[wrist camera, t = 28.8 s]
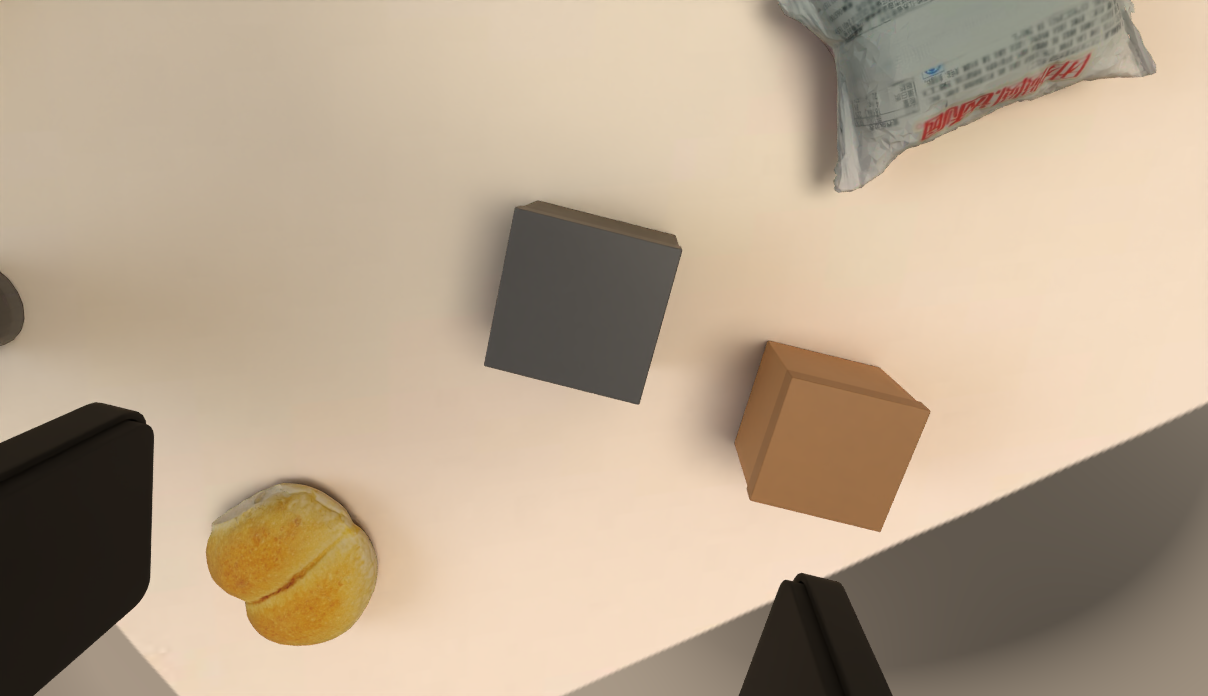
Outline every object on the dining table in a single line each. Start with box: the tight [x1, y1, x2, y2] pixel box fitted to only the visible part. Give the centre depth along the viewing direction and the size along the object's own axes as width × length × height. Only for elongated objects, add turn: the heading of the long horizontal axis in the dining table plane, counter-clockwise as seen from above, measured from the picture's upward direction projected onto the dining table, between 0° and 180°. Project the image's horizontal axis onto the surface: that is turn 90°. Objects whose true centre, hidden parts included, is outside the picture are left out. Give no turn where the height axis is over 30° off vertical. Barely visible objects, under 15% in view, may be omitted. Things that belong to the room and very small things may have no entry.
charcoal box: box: [484, 201, 682, 405], centre depth 28 cm, size 7×7×5 cm
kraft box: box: [735, 341, 930, 532], centre depth 29 cm, size 6×6×6 cm
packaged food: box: [778, 0, 1156, 193], centre depth 24 cm, size 9×12×5 cm
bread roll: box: [206, 483, 377, 646], centre depth 34 cm, size 8×9×4 cm
